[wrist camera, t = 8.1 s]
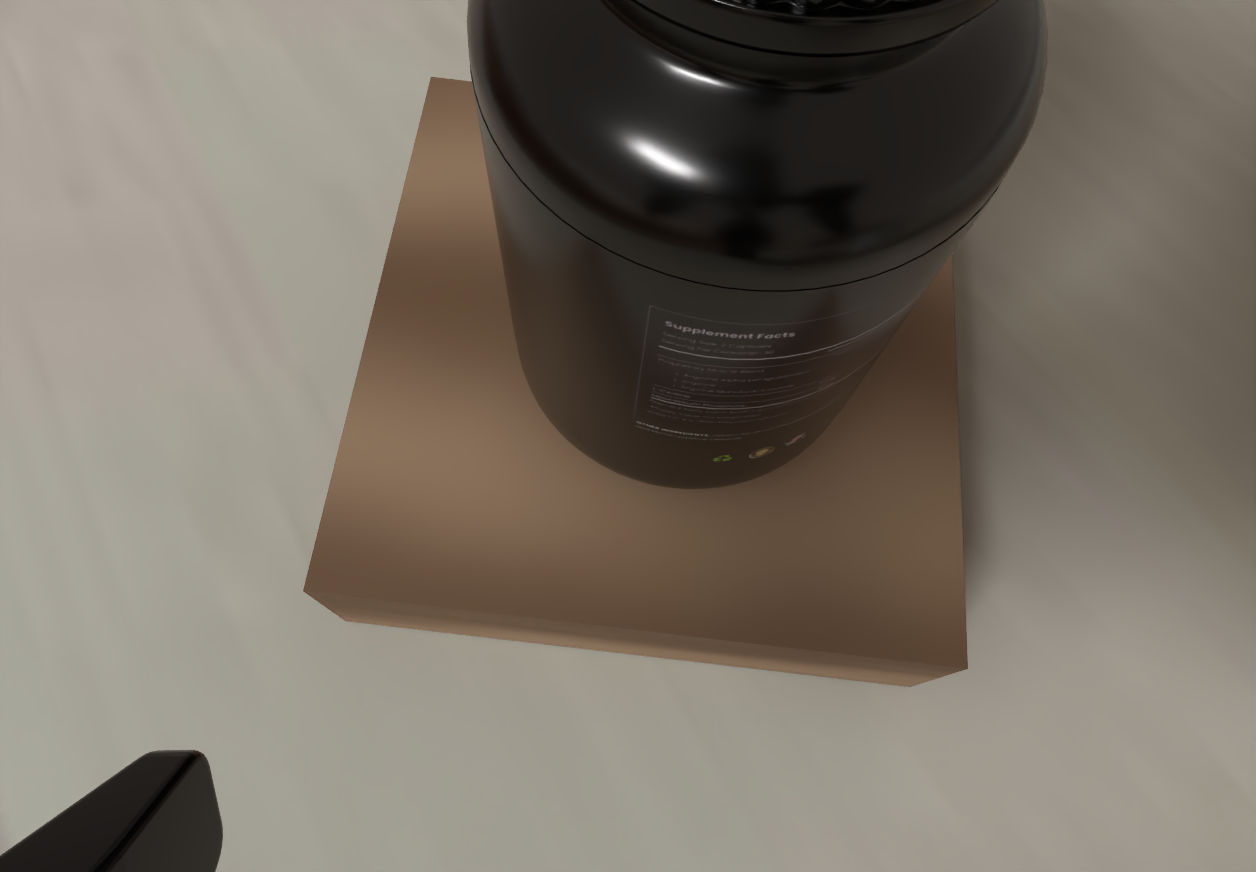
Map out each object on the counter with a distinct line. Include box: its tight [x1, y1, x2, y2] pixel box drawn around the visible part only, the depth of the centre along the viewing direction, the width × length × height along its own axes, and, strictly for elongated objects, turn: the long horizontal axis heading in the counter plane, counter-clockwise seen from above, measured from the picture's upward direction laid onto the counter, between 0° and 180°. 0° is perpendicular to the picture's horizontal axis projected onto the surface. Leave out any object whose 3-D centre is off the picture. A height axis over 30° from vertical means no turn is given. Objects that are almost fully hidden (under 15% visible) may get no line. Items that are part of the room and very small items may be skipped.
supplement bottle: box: [467, 0, 1047, 489], centre depth 12 cm, size 7×7×12 cm
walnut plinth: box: [303, 77, 968, 687], centre depth 19 cm, size 12×12×3 cm
